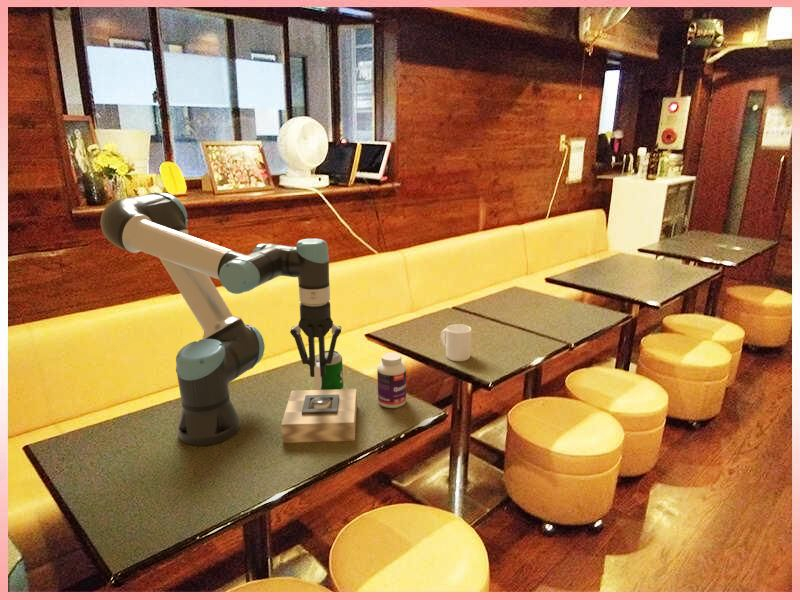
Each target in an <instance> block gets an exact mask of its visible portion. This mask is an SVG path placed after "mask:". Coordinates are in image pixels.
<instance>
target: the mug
mask: <svg viewBox="0 0 800 600" xmlns="http://www.w3.org/2000/svg"><path fill="white" fill-rule="evenodd" d="M440 342H441V343H440V344H441V345H442V346H443V347H444V348H445V356H446V358H447V359H448V360H450V361H453V362H465V361H467V360H469V359H470V358H471V354H472V352H471V350H472V327H470V326H469V325H466V324H462V323H458V324H457V323H455V324H450V325H448V326H446V327H445V328H444V329H443V330H442V331H441V333H440Z"/></svg>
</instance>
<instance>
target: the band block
mask: <svg viewBox="0 0 800 600" xmlns="http://www.w3.org/2000/svg"><path fill="white" fill-rule="evenodd" d="M357 395H358V394H357V388H343V389H335V390H315V389H311V390H310V389H304V390H302V389H301V390H298V389H297V390H291V392H290V395H289V398H288V401H287V404H286V409H285V411H284V414H283V417H282V421H281V424H280V426H281V437H282V443H283V444H284V443H285V444H286V443H287V444H288V443H291V444H292V443H313V442H314V443H315V442H316V443H318V442H319V443H320V442H322V441H323V443H325V442H350V441H351V442H352V441H353V442H355V440H356V426H357V423H356V422H357V410H358V409H357V408H358V401H357V400H358V399H357V397H358V396H357ZM317 397H327V398H329V399H330V403H331V408H324V409H312V407H311V401H312V400H313V399H314V398H317Z"/></svg>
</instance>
